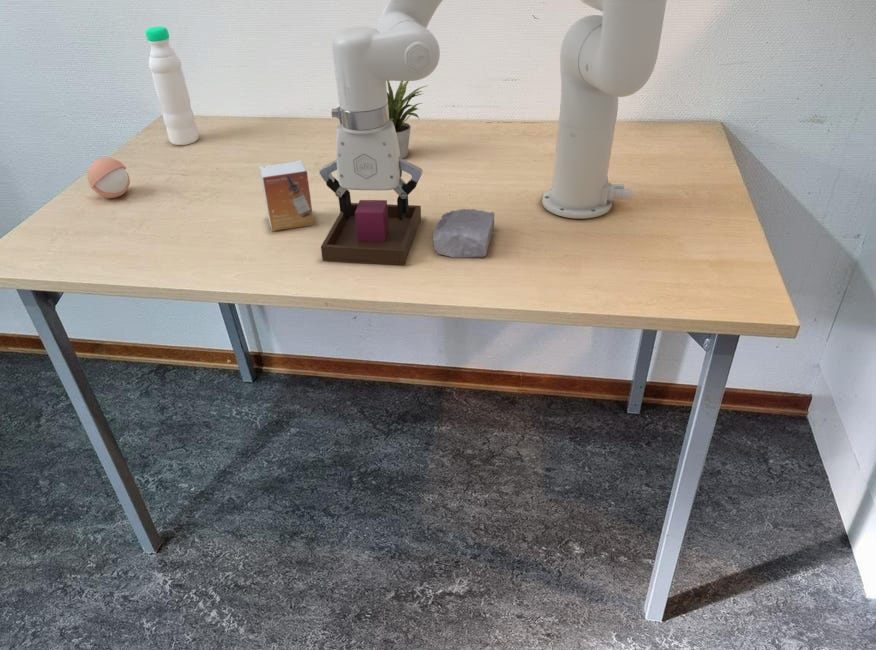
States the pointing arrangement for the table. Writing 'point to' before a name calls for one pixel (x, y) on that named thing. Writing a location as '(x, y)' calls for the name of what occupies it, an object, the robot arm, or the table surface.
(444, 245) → the stone block
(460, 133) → the table surface
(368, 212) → the pink block
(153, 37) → the water bottle
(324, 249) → the tray
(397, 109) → the house plant
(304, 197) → the small box
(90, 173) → the toy ball
